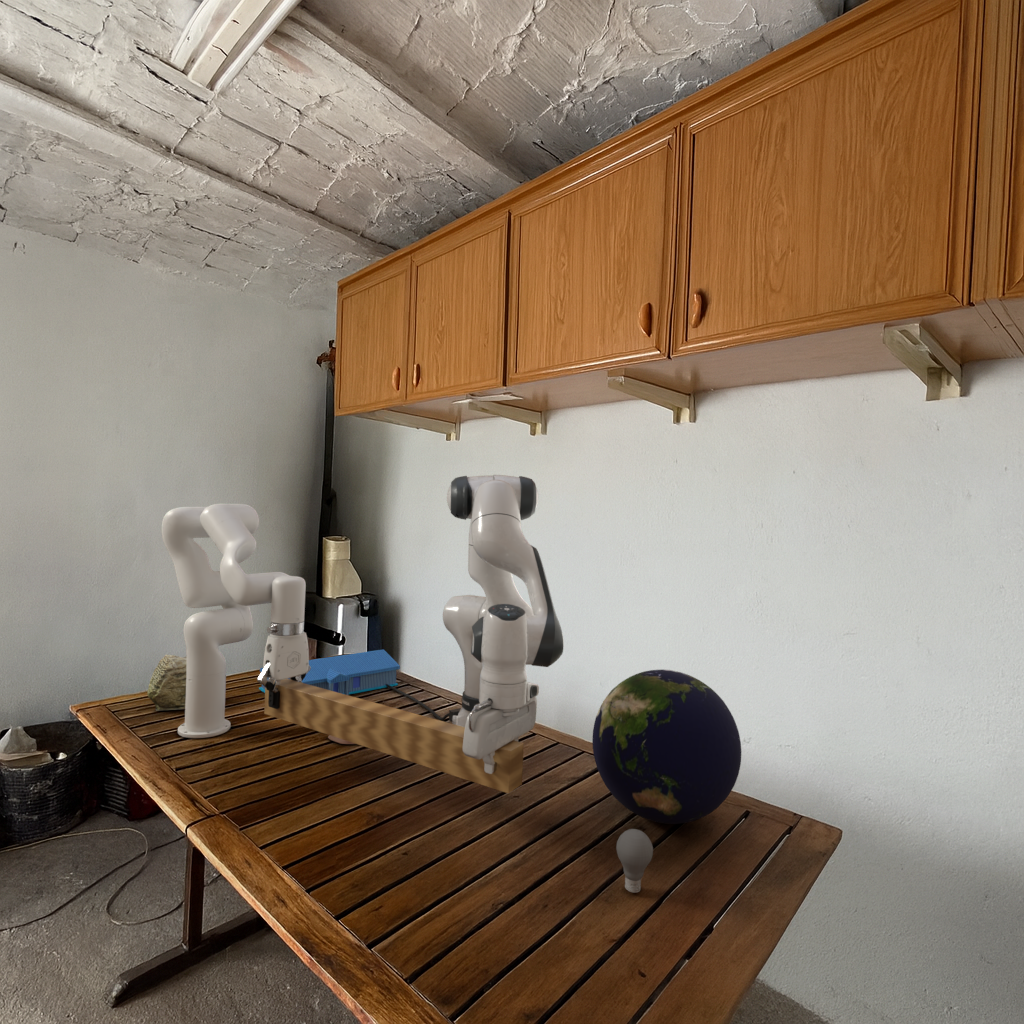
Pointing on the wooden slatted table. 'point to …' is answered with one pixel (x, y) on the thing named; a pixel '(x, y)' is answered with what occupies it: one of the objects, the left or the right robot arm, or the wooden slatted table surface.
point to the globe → (666, 746)
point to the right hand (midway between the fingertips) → (499, 766)
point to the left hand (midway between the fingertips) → (283, 703)
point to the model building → (352, 672)
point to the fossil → (169, 683)
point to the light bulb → (634, 857)
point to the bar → (395, 733)
